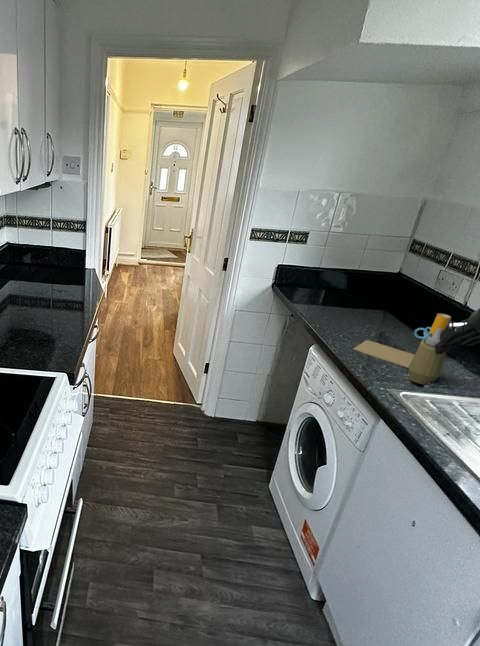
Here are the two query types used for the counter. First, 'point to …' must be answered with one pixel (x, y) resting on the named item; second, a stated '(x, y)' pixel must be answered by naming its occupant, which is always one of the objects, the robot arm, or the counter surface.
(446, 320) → the orange cylinder with loops
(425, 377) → the squeeze bottle
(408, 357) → the cork mat
